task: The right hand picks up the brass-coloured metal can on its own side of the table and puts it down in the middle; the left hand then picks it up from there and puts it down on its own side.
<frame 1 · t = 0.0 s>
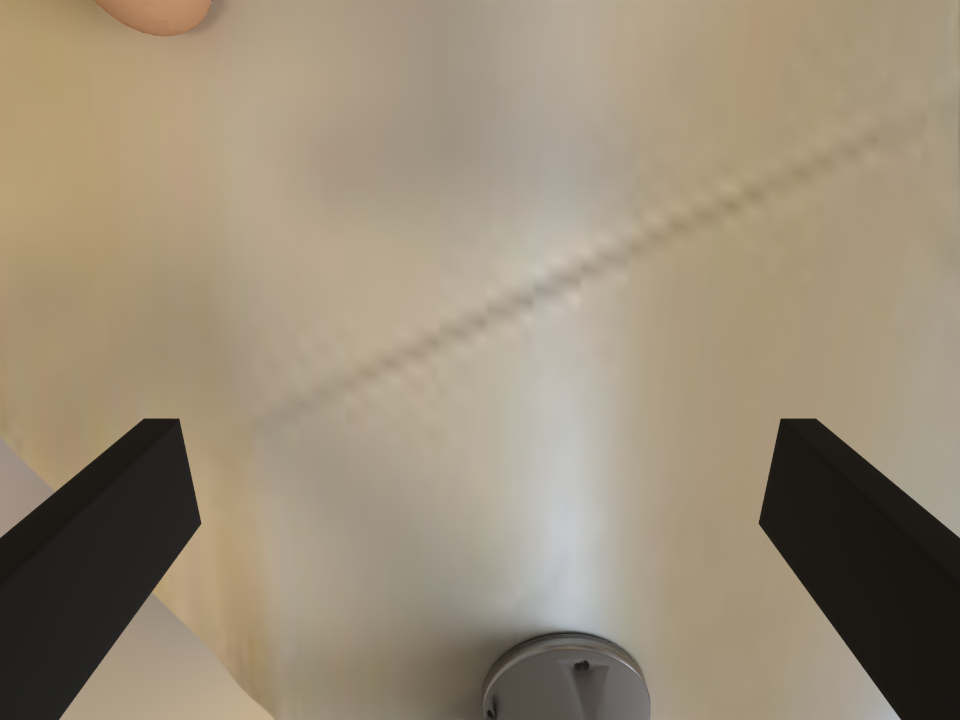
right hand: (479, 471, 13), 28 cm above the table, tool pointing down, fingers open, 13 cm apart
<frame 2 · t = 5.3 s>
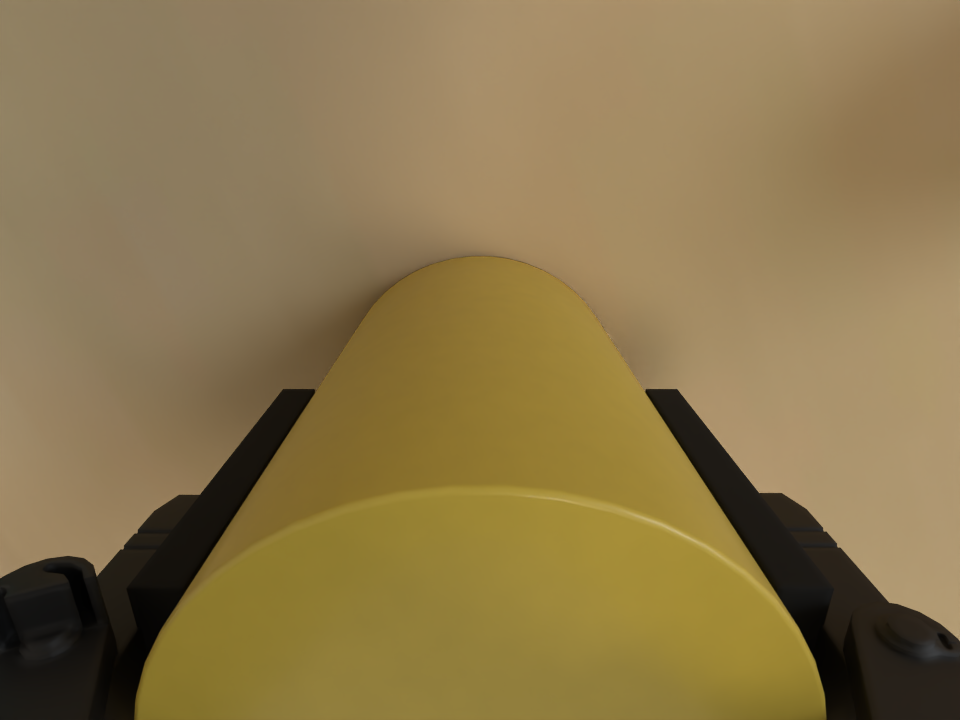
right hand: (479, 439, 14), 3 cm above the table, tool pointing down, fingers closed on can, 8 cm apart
can: (480, 388, 17), on the table, touching right hand
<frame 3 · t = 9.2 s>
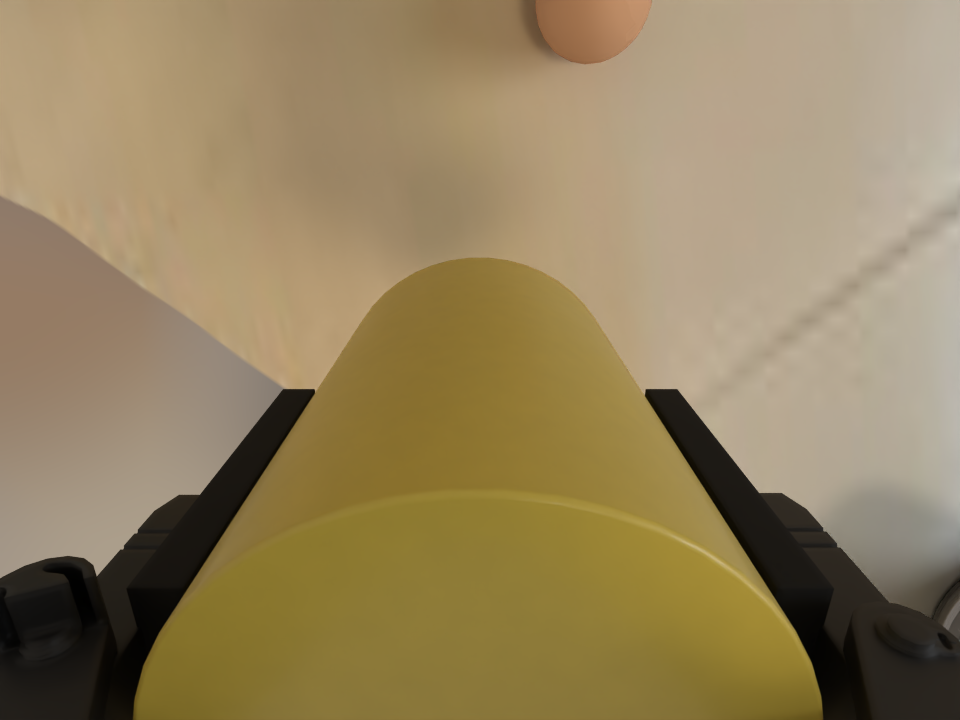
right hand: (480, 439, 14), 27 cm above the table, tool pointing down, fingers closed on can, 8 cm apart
egg: (580, 14, 34), on the table
can: (479, 389, 17), point 24 cm above the table, touching right hand
when the right hand's fingers open (5 cm above the table, at t = 13.2 s): can drops 2 cm, on the table.
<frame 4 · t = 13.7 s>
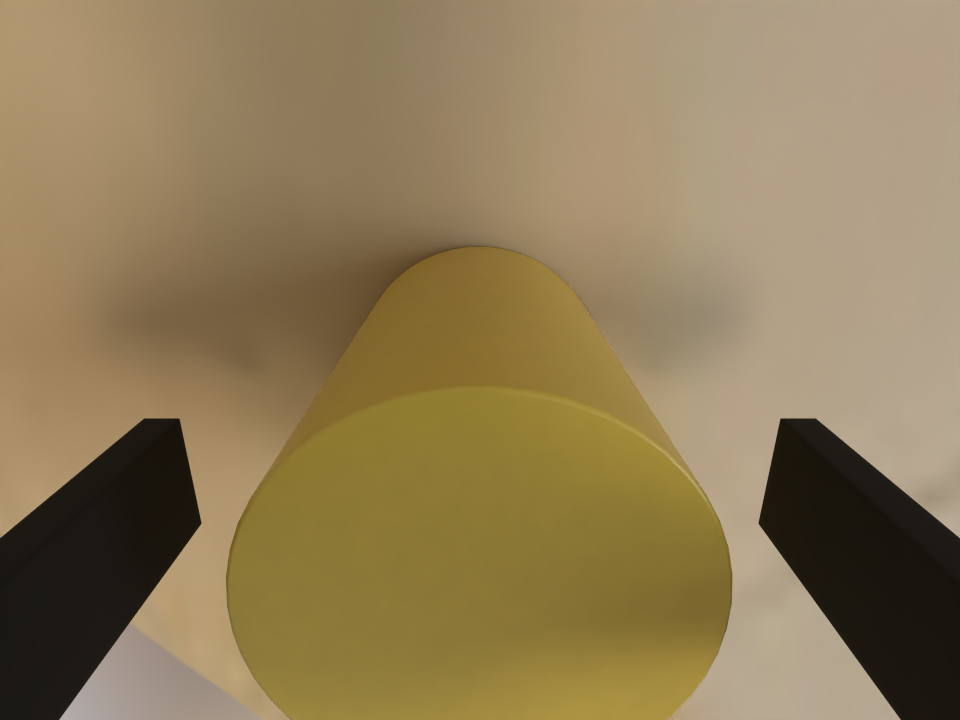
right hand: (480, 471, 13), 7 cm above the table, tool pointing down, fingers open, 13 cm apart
can: (479, 363, 19), on the table
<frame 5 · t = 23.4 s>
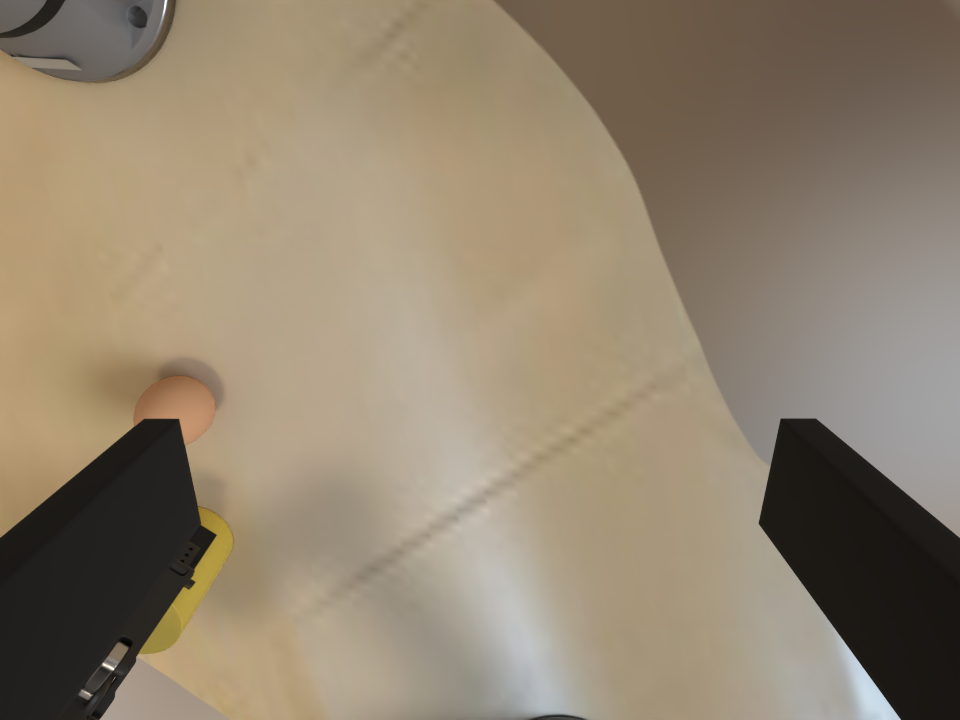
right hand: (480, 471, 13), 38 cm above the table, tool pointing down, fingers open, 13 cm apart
egg: (197, 392, 54), on the table
can: (195, 536, 60), on the table, touching left hand
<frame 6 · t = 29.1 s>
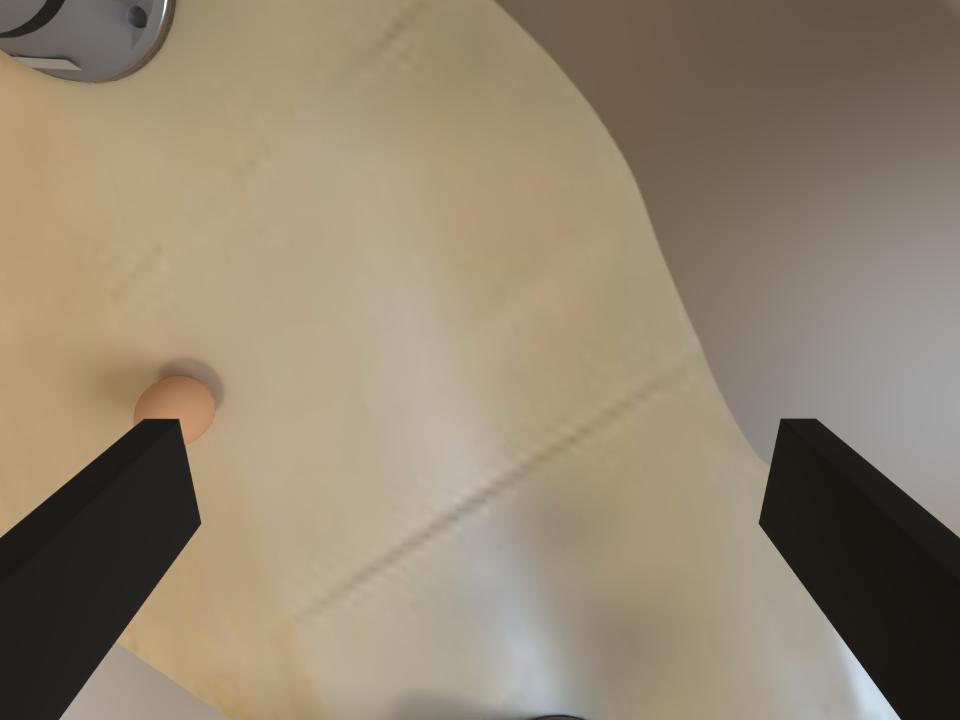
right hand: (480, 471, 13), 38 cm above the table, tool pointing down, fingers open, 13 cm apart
egg: (197, 392, 54), on the table
when the left hand's fingers open (5 cm above the table, at t = 35.0 s): can drops 2 cm, on the table.
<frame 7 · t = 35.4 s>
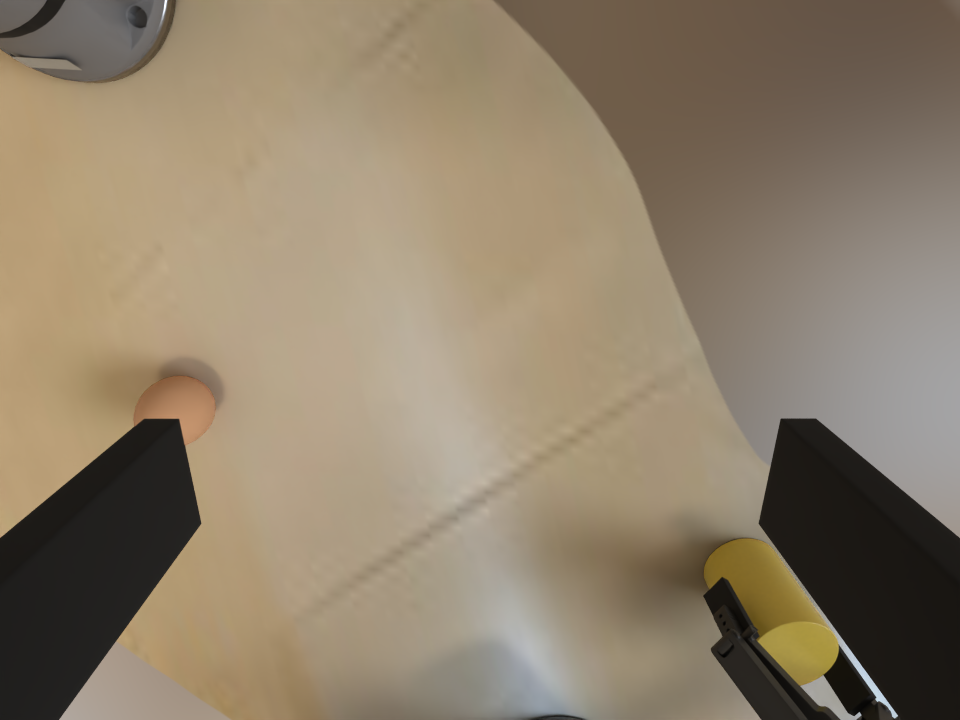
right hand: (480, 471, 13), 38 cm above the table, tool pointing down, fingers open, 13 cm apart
left hand: (769, 616, 55), fingers open, 13 cm apart
egg: (197, 392, 54), on the table
can: (740, 568, 62), on the table
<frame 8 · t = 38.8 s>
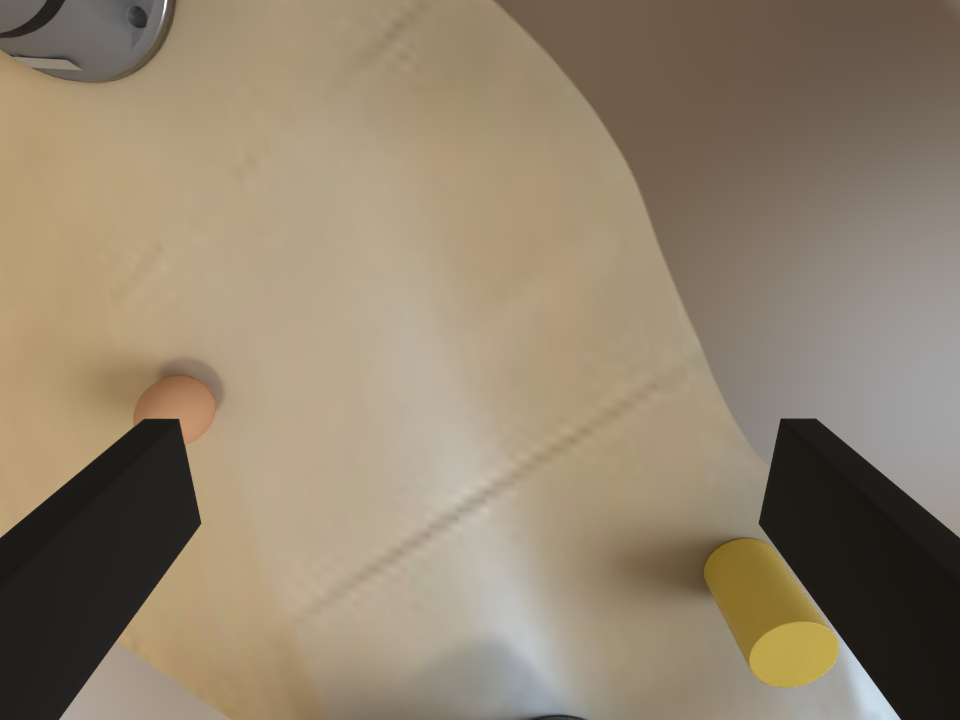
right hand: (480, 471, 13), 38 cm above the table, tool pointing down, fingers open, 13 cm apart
egg: (197, 392, 54), on the table
can: (740, 568, 62), on the table
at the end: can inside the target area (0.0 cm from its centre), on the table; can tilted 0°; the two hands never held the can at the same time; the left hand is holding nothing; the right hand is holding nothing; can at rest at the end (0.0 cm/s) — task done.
